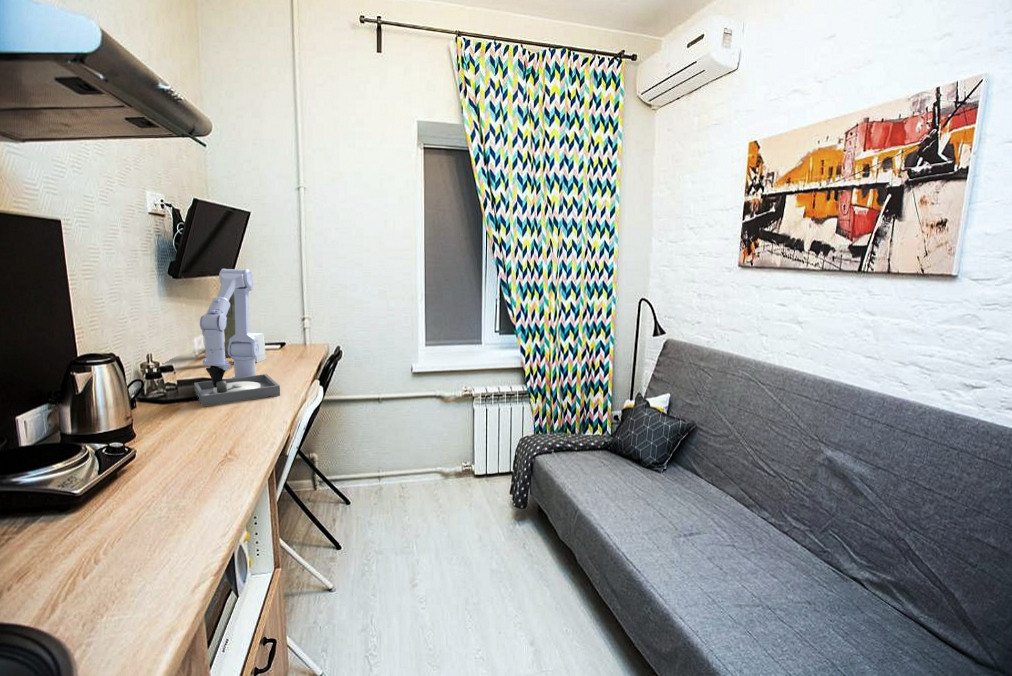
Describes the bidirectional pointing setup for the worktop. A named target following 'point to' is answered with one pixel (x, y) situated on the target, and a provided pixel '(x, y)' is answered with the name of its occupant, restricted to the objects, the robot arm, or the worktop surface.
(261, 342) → the supplement box
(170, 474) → the worktop surface
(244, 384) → the dial
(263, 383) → the bezel plate
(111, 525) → the worktop surface
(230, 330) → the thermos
